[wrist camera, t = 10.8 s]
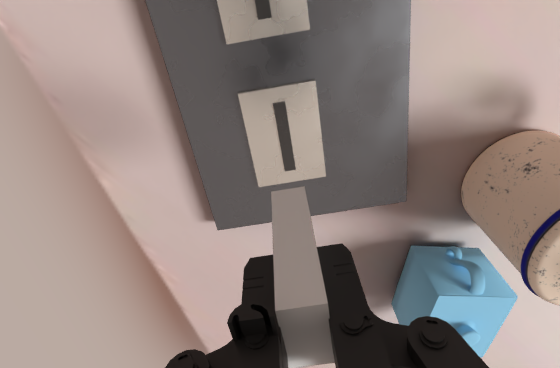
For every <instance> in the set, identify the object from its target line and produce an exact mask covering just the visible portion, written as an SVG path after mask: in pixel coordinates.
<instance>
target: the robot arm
mask: <svg viewBox="0 0 560 368" xmlns="http://www.w3.org/2000/svg"><path fill="white" fill-rule="evenodd" d="M271 200H272V231H273V255H268V256H261V257H254V258H250V259H249V261H248V263H247V264H246V266H245V268H244V277H243V280H244V282H243V291H242V304H241V305H240V306H238V307H237V308H235V309H234V311H233V312H232V313H231V314H230V316H229V319H228V322H227V324H228V326H229V329H230V332H231V335H232V338H233V339H232V340H231V341H230V342H229V343H228V344H227V345H225V346H223V347H222V348H220V349H218V350H216V351H213V352H211V353H209V354H207V355H205V354H204V353H203V352H201V351H198V350H186V351H184V352H182V353H179V354H178V355H176V356H175V357H174V358H173V359H171V360H170V361H169V363H168V364H167V366H166V367H165V368H288V366H289V368H298V367H305V366H313V365H320V364H328V363H335V365H336V368H489V367H488V366H487V365H486V364H485V363H484V361H483V360H482V359H481V358H480V357H479V356H478V355H477V353H476V352H475V351H474V350H473V349H472V348H471V347H470V345H469V344H468V343H467V342H466V341H465V340H464V339H463V337H462V336H461V335H460V334H459V333H458V332H457V331H456V329H455V328H453V327H452V326H451V325H450V324H449V323H448V322H446V321H444V320H442V319H439V318H437V317H430V316H424V317H418V318H417V319H415V320H413V321H412V322H411V323H410V325H409V326H407V325H400V324H394V323H390V322H386V321H384V320H382V319H380V318H378V317H377V316H376V315H374V314H373V312H372V311H371V310H370V308H369V306H368V304H367V301H366V298H365V295H364V292H363V289H362V286H361V283H360V279H359V276H358V273H357V270H356V267H355V264H354V261H353V258H352V255H351V252H350V251H349V250H348V249H347V248H346V247H345V246H344V245H343V244H336V245H329V246H322V247H317V246H316V241H315V236H314V231H313V226H312V221H311V216H310V211H309V206H308V201H307V196H306V191H305V186H304V187H297V188H291V189H285V190H278V191H272V192H271Z"/></svg>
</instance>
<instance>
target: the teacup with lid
mask: <svg viewBox="0 0 560 368" xmlns="http://www.w3.org/2000/svg"><path fill="white" fill-rule="evenodd" d="M461 197H462V203H463V206H464V208H465V210H466V212H467V213H468V214H469V216H470V217H471V218H472V219H473V220H474V221H475V222H476V223H477V225H478V226H479V227H480V228H481V229H482V230H483V231H484V233H485V234H486V235H487V236H488V237H489V238H490V239H491V241H492V242H493V243H494V244H495V245H496V246H497V247H498V248H499V250H500V251H501V252H502V253H503V254H504V255H505V256H506V258H507V259H508V260H509V261H510V262H511V263H512V264H513V265H514V267H515V268H516V269H517V270H518V271H519V272H520V273H521V275H522V278H523V281H524V283H525V285H526V286H527V287H528V289H529V290H530V291H531V292H533V293H534V294H535V295H537V296H539V297H541V298H542V299H544V300H546V301H548V302H550V303H553V304H556V305H559V306H560V136H559V135H557V134H554V133H551V132H547V131H525V132H520V133H516V134H513V135H510V136H508V137H506V138H503V139H501V140H500V141H498V142H496V143H494V144H493V145H491V146H490V147H489V148H487V149H486V150H485V151H484V152H483V153H481V154H480V155H479V156H478V157H477V159H476V160H475V161H474V162H473V163H472V165H471V166H470V168H469V170H468V171H467V173H466V175H465V178H464V180H463V184H462V189H461Z"/></svg>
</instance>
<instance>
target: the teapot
mask: <svg viewBox="0 0 560 368" xmlns="http://www.w3.org/2000/svg"><path fill="white" fill-rule="evenodd" d="M516 300H517V295H516V294H515V292H514V291H513V290H512V289H511V288H510V286H509V285H508V284H507V283H506V281H505V280H504V279H503V278H502V276H501V275H500V274H499V273H498V271H497V270H496V269H495V268H494V266H493V265H492V264H491V263H490V261H489V260H488V259H487V258H486V256H485V255H484V254H483V253H482V252H481V250H480V249H479V248H462V247H456V246H450V247H437V246H412V245H411V247H410V250H409V253H408V254H407V259H406V262H405V265H404V268H403V271H402V273H401V276H400V279H399V282H398V284H397V288H396V291H395V294H394V297H393V300H392V303H391V304H392V306H393V309H394V311H395V314H396V317H397V319H398V322H399V324H400V325H407V326H409V325H410V323H411V322H412V321H413V320H415V319H417V318H418V317H424V316H430V317H437V318H439V319H442V320H444V321H446V322H448V323H449V324H450V325H451V326H452V327H453V328H455V329H456V331H457V332H458V333H459V334H460V335H461V336H462V337H463V339H464V340H465V341H466V342H467V343H468V344H469V345H470V347H471V348H472V349H473V350H474V351H475V352H476V353H477V355H478V356H479V357H483V356H484V354H485V353H486V351H487V349H488V348H489V346H490V344H491V343H492V341H493V339H494V338H495V336H496V334H497V333H498V331H499V329H500V327H501V326H502V324H503V322H504V321H505V319H506V317H507V315H508V314H509V312H510V310H511V309H512V307H513V305H514V303H515V301H516Z"/></svg>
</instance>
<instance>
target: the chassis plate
mask: <svg viewBox="0 0 560 368" xmlns="http://www.w3.org/2000/svg"><path fill="white" fill-rule="evenodd" d="M145 1H146V4H147V7H148V10H149V14H150V17H151V20H152V23H153V26H154V29H155V33H156V36H157V39H158V42H159V45H160V48H161V52H162V55H163V58H164V61H165V64H166V68H167V71H168V74H169V77H170V80H171V83H172V87H173V90H174V93H175V96H176V99H177V102H178V106H179V109H180V112H181V115H182V118H183V121H184V125H185V128H186V131H187V134H188V137H189V140H190V144H191V147H192V150H193V153H194V156H195V160H196V163H197V166H198V169H199V172H200V175H201V179H202V182H203V185H204V188H205V191H206V194H207V198H208V201H209V204H210V207H211V210H212V213H213V217H214V220H215V223H216V226H217V229H218V230H224V229H230V228H237V227H243V226H250V225H256V224H263V223H269V222H272V200H271V192H272V191H278V190H285V189H291V188H297V187H304V186H305V191H306V196H307V201H308V206H309V211H310V216H314V215H321V214H327V213H334V212H340V211H347V210H353V209H360V208H366V207H373V206H379V205H386V204H392V203H399V202H405V201H406V194H407V149H408V105H409V61H410V17H411V0H145Z"/></svg>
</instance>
